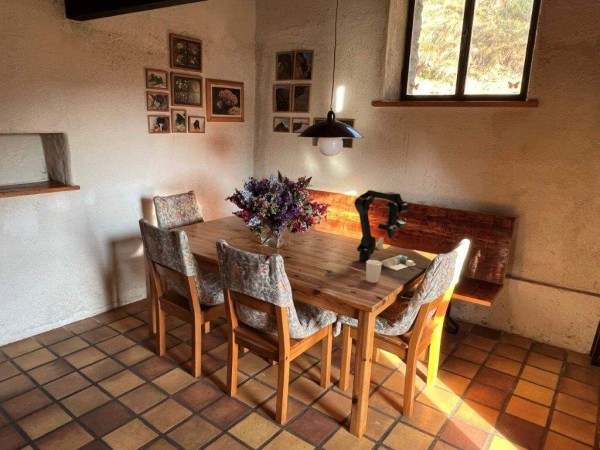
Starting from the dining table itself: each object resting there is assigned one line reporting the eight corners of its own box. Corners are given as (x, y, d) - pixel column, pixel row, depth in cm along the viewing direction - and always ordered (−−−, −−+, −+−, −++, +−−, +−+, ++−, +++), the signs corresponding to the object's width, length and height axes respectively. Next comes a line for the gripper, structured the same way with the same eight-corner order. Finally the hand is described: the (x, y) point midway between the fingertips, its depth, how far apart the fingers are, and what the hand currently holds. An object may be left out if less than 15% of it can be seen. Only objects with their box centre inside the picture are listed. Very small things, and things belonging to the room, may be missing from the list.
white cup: (378, 277, 227) (379, 259, 224) (381, 283, 219) (383, 264, 217) (363, 277, 226) (365, 259, 224) (366, 283, 219) (367, 264, 216)
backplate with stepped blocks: (396, 271, 236) (397, 265, 235) (381, 266, 245) (381, 259, 244) (415, 265, 248) (416, 259, 247) (400, 260, 256) (401, 254, 255)
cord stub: (410, 266, 243) (410, 262, 242) (396, 261, 250) (397, 257, 249) (413, 265, 245) (413, 261, 244) (399, 261, 252) (400, 256, 251)
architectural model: (374, 249, 279) (375, 238, 277) (378, 246, 285) (379, 236, 283) (379, 250, 277) (380, 239, 275) (383, 247, 283) (384, 237, 281)
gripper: (393, 218, 243) (391, 244, 246) (413, 214, 254) (411, 239, 258) (378, 214, 251) (376, 239, 255) (398, 210, 263) (396, 235, 266)
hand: (390, 238), depth 258 cm, fingers closed
